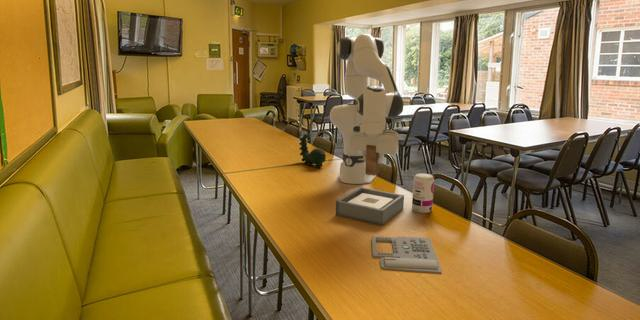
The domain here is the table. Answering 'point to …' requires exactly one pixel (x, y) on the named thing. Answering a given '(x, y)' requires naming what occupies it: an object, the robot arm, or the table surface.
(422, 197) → the supplement can
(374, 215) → the open box
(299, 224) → the table surface
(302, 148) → the toy figurine
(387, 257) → the office telephone
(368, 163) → the peg
